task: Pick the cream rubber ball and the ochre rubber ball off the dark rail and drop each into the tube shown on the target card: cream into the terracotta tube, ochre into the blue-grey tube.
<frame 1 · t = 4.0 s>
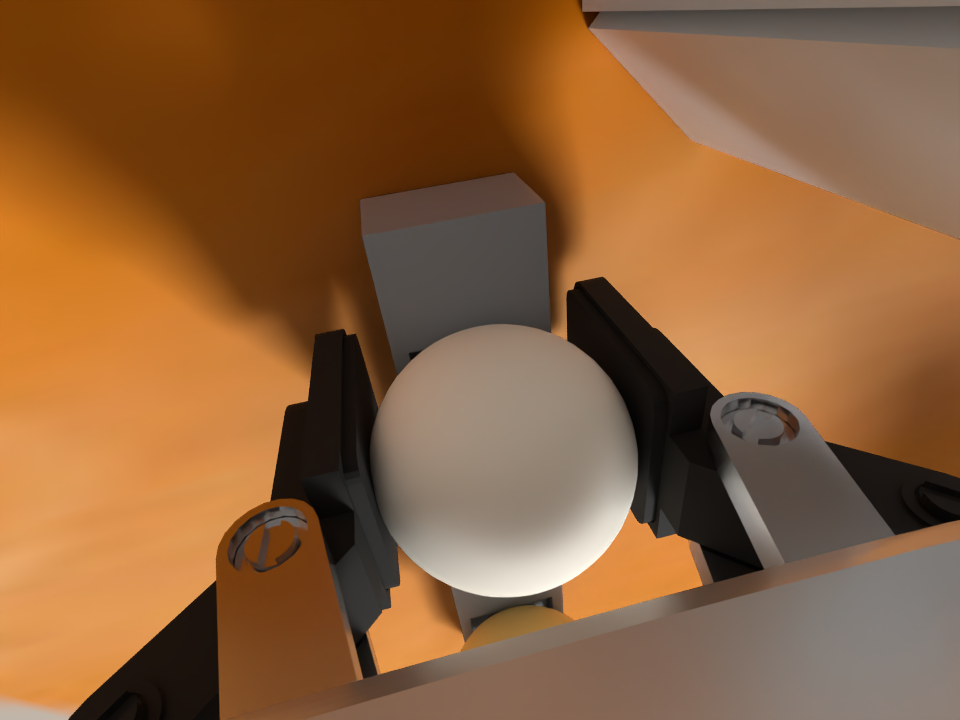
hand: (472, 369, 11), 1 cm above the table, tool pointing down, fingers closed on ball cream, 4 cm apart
ball cream: (476, 380, 11), point 2 cm above the table, touching gripper, holder
ball ochre: (511, 618, 16), point 2 cm above the table, touching holder
holder: (483, 475, 15), on the table
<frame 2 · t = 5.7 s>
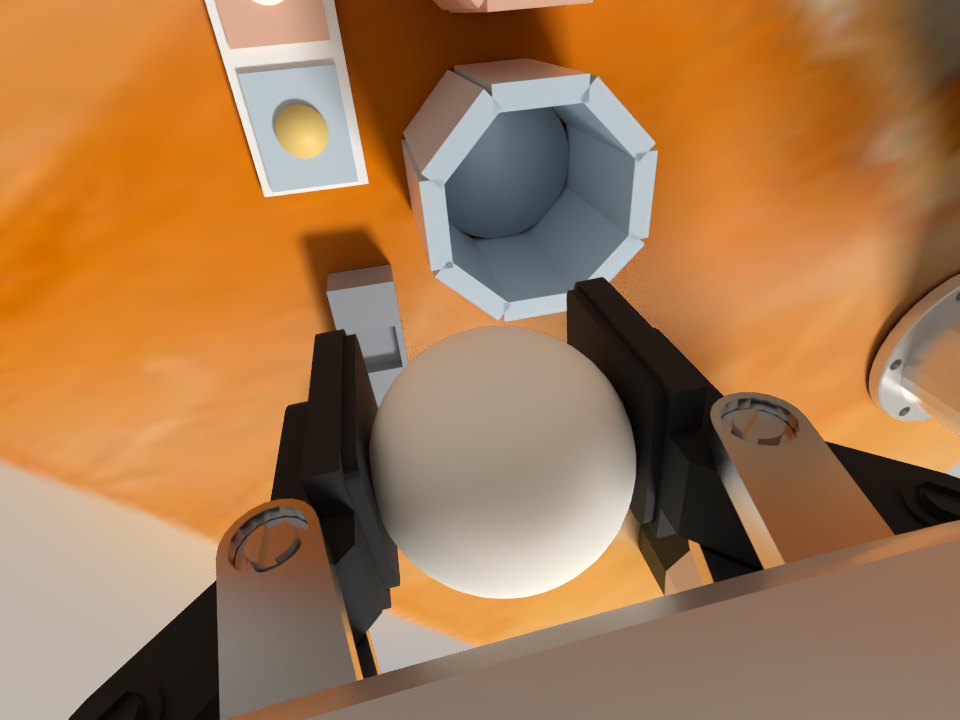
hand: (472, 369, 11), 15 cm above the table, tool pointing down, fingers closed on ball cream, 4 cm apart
ball cream: (475, 381, 11), point 16 cm above the table, touching gripper
target card: (285, 55, 20), on the table
holder: (387, 398, 30), on the table
tube bluegrey: (496, 164, 24), on the table
wine bottle: (683, 522, 43), on the table
when the fingers open (7 cm above the table, at t = 7.8 s): ball cream drops 7 cm, resting on tube terracotta.
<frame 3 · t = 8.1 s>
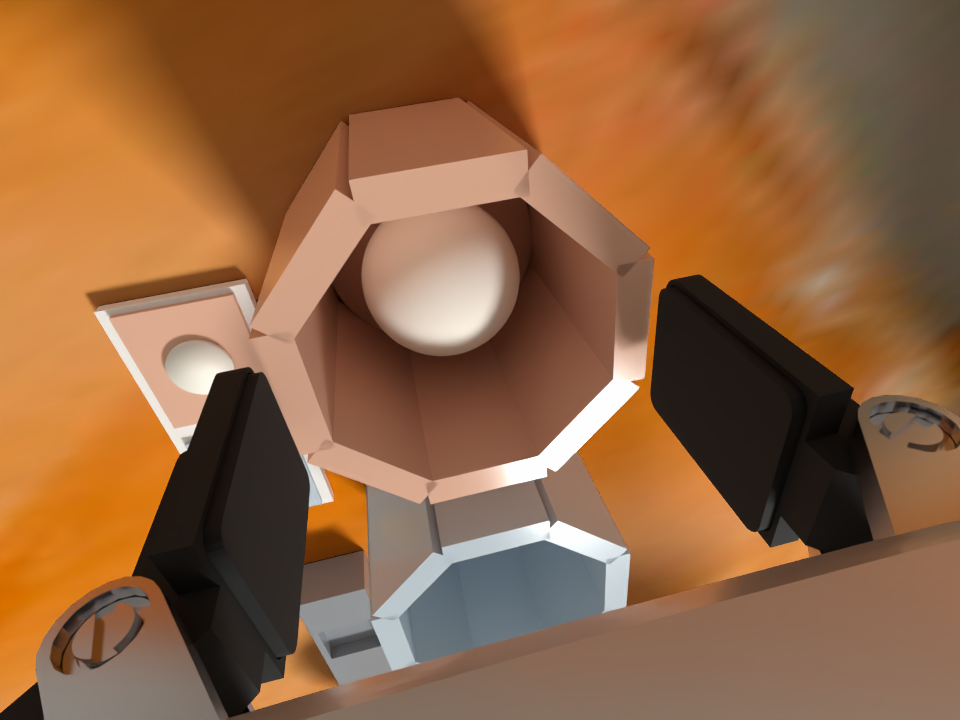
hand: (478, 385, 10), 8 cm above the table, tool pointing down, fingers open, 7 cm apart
ball cream: (431, 249, 17), resting on tube terracotta
target card: (235, 415, 19), on the table
holder: (371, 646, 29), on the table
tube terracotta: (429, 244, 17), on the table
tube bluegrey: (468, 462, 23), on the table
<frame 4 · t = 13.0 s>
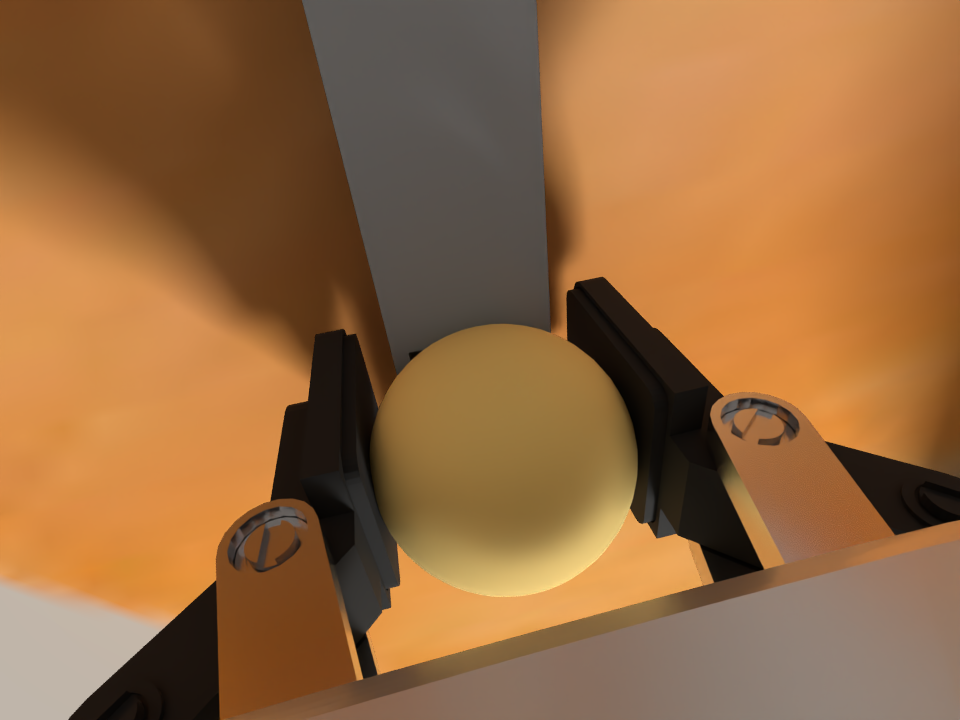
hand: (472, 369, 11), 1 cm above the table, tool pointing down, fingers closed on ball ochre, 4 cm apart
ball ochre: (476, 379, 11), point 2 cm above the table, touching gripper, holder
holder: (429, 129, 9), on the table
when the fingers open (7 cm above the table, at t = 16.7 s): ball ochre drops 7 cm, resting on tube bluegrey.
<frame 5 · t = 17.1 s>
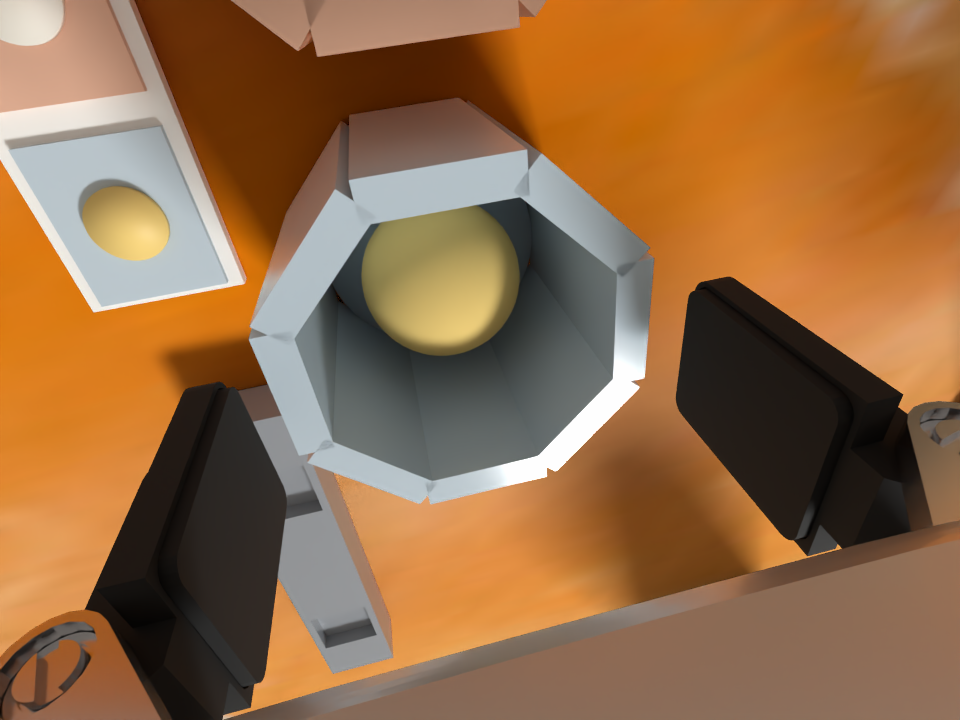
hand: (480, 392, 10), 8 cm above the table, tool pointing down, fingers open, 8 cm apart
target card: (86, 116, 13), on the table
ball ochre: (431, 249, 17), resting on tube bluegrey
holder: (318, 530, 23), on the table
tube bluegrey: (429, 244, 17), on the table
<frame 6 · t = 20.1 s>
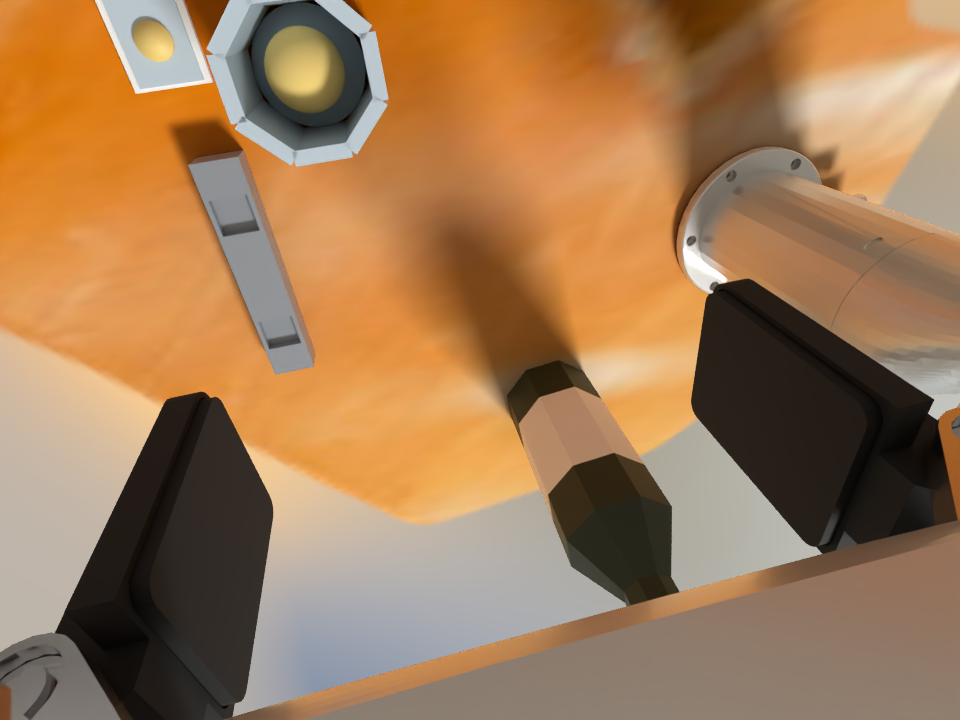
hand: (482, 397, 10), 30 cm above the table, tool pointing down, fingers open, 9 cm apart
ball ochre: (310, 67, 32), point 1 cm above the table, touching tube bluegrey
holder: (262, 267, 38), on the table
tube bluegrey: (310, 67, 32), on the table
wine bottle: (547, 395, 51), on the table
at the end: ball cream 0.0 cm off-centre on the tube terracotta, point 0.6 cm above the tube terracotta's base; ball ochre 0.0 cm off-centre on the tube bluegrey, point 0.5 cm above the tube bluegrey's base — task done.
